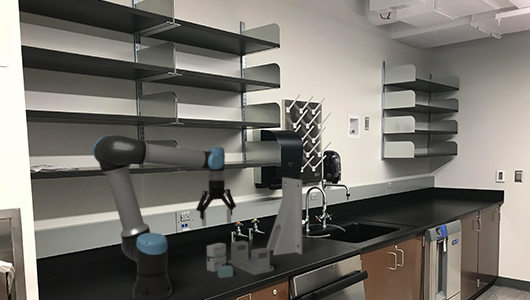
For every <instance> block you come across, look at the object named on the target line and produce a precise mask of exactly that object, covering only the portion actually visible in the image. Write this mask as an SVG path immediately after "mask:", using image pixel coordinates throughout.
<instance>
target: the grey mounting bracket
mask: <svg viewBox="0 0 530 300" xmlns="http://www.w3.org/2000/svg"><path fill="white" fill-rule="evenodd" d="M281 181H282V182H281V190H282V191H281V195H282V197H281V199H282V200H281V202H280V205H279V208H278V212H277V216H276V217H275V221H274V224H273V227H272V231H271V232H270V235H269V239H268V241H267V245H266V247H265V248H266V249H269V250H270V252H271V251H273V253H272V256H279V255H286V254H293V253H296V254H298V255H303V179H297V178H291V177H282V179H281Z"/></svg>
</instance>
